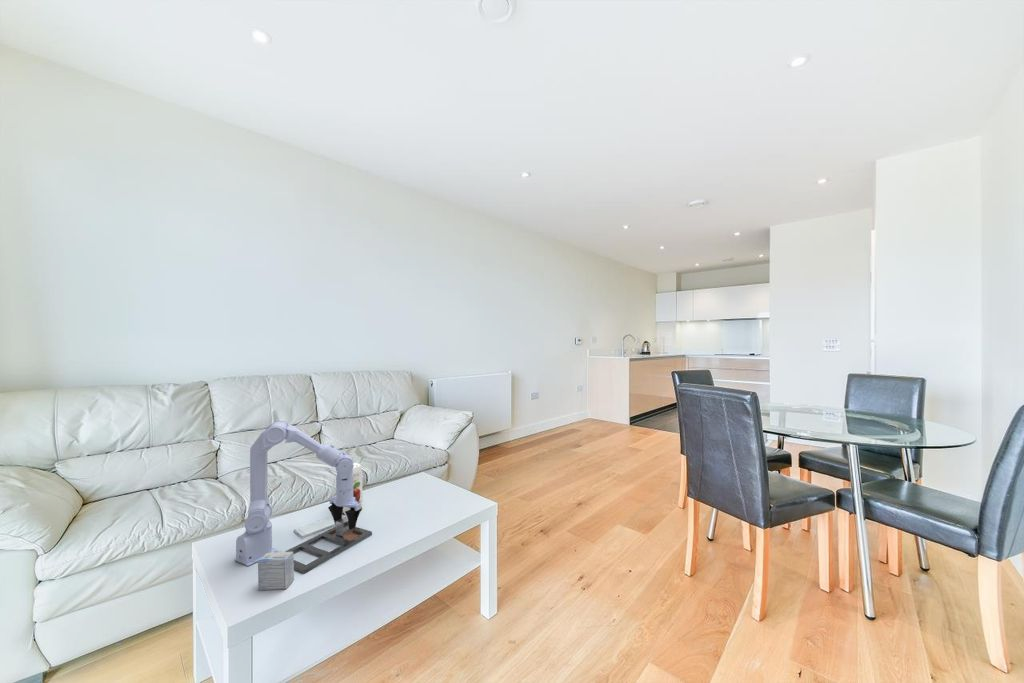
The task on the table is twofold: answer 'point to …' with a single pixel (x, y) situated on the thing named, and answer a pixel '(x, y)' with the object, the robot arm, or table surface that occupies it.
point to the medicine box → (275, 571)
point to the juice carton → (356, 485)
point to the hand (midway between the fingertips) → (345, 526)
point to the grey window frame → (324, 555)
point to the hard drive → (314, 528)
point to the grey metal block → (343, 528)
